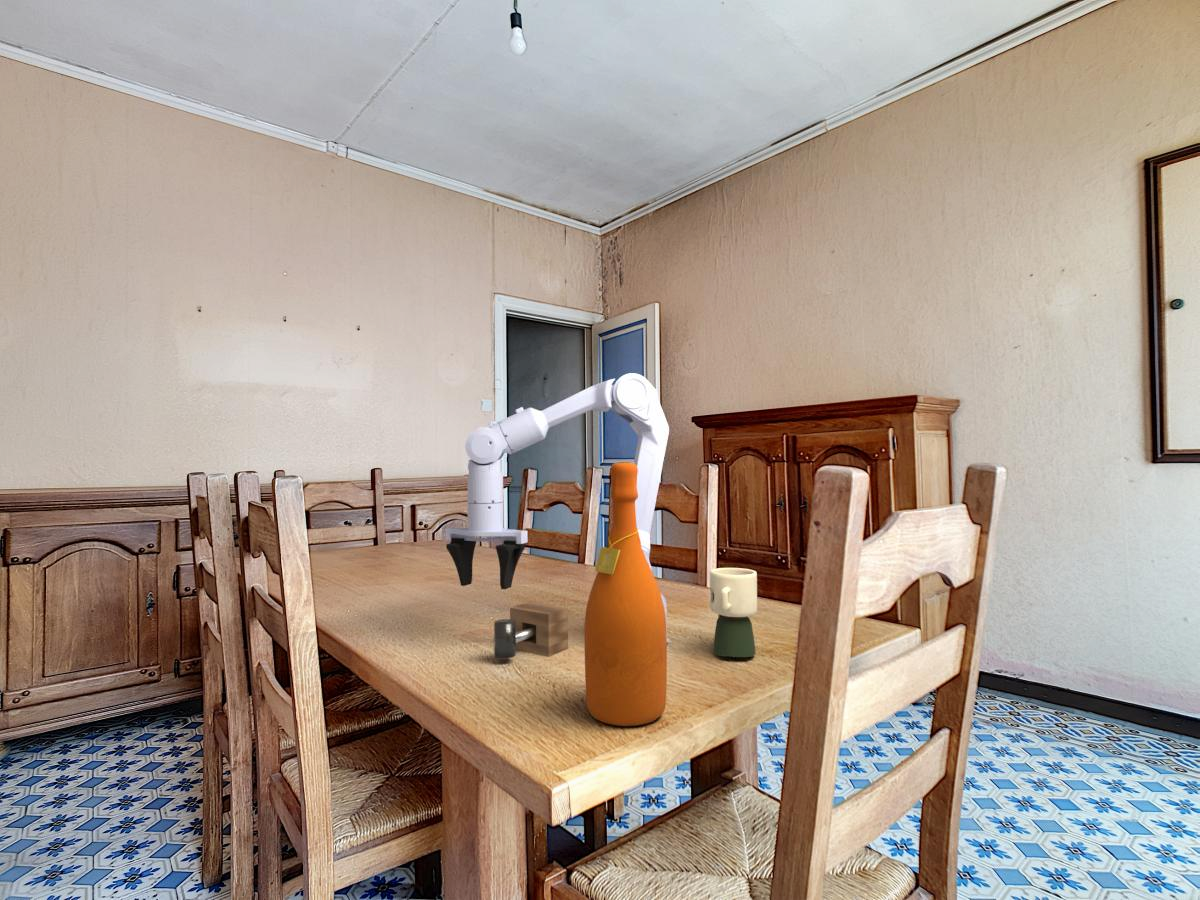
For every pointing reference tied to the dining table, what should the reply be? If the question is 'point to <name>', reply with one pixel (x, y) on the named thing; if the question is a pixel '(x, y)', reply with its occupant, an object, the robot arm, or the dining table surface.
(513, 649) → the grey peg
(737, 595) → the character mug
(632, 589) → the wine bottle
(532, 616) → the eye block
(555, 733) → the dining table surface
